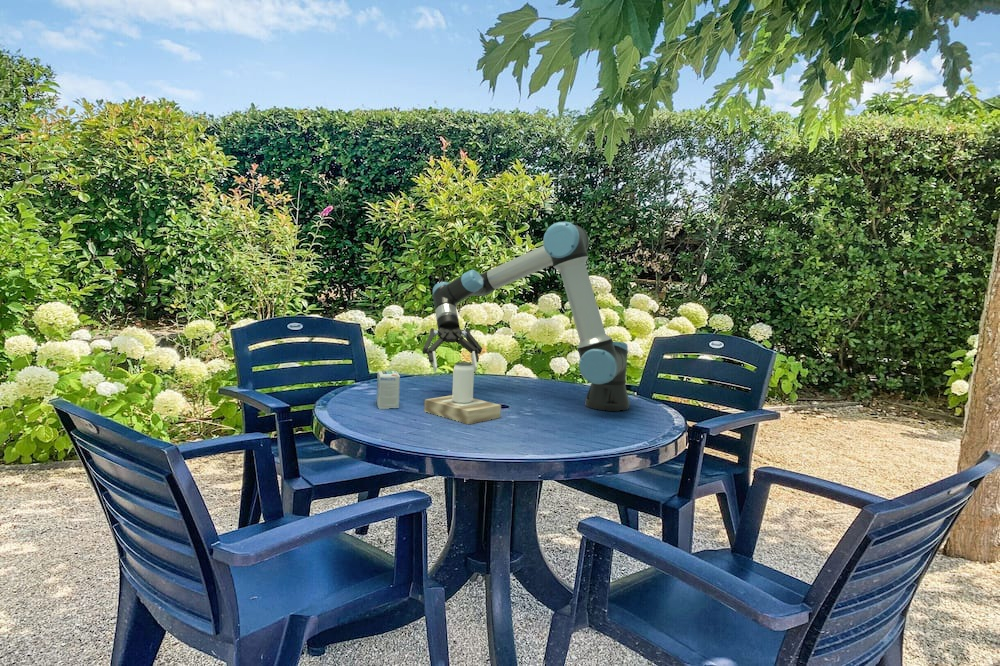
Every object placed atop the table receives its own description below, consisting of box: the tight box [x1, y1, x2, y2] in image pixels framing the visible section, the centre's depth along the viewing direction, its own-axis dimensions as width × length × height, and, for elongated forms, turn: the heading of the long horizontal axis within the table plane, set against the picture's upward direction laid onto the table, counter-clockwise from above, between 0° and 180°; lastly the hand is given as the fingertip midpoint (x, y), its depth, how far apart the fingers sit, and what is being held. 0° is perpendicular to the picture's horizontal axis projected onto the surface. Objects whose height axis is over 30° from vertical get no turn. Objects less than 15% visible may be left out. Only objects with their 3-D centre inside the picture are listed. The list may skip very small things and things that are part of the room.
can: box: [451, 362, 475, 404], centre depth 190 cm, size 6×6×12 cm
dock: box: [423, 394, 502, 425], centre depth 191 cm, size 20×14×4 cm
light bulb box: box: [376, 370, 401, 410], centre depth 199 cm, size 11×7×11 cm, turn 15°
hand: (455, 369), depth 200 cm, fingers open, 13 cm apart
